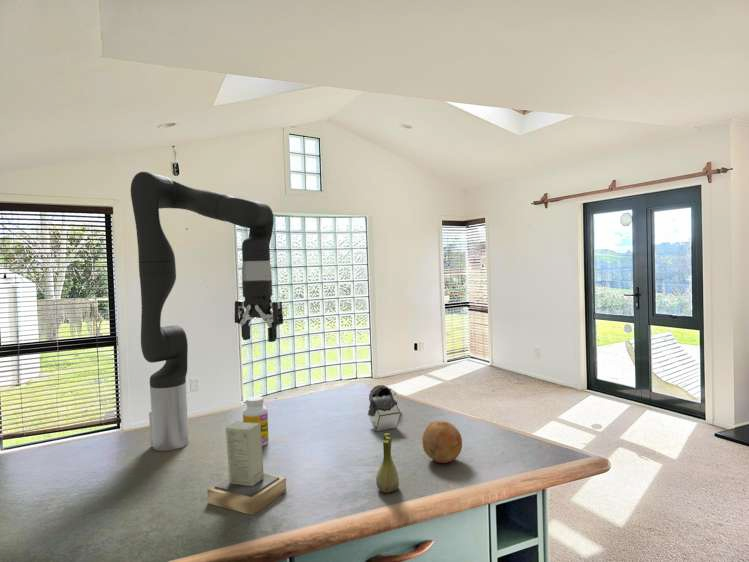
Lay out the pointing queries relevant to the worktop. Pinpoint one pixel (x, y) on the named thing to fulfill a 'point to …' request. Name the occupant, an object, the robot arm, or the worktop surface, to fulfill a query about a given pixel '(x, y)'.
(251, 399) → the supplement bottle
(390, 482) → the fennel bulb
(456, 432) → the onion
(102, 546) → the worktop surface
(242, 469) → the skincare box
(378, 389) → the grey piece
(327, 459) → the worktop surface
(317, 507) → the worktop surface
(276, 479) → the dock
